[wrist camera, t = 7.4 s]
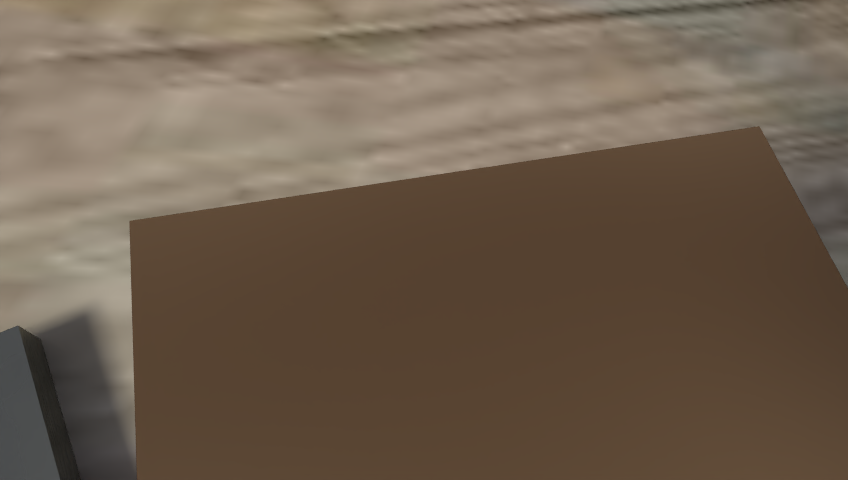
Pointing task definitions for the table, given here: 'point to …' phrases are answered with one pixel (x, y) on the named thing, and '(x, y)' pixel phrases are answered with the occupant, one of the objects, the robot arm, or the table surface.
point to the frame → (30, 414)
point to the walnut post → (499, 326)
